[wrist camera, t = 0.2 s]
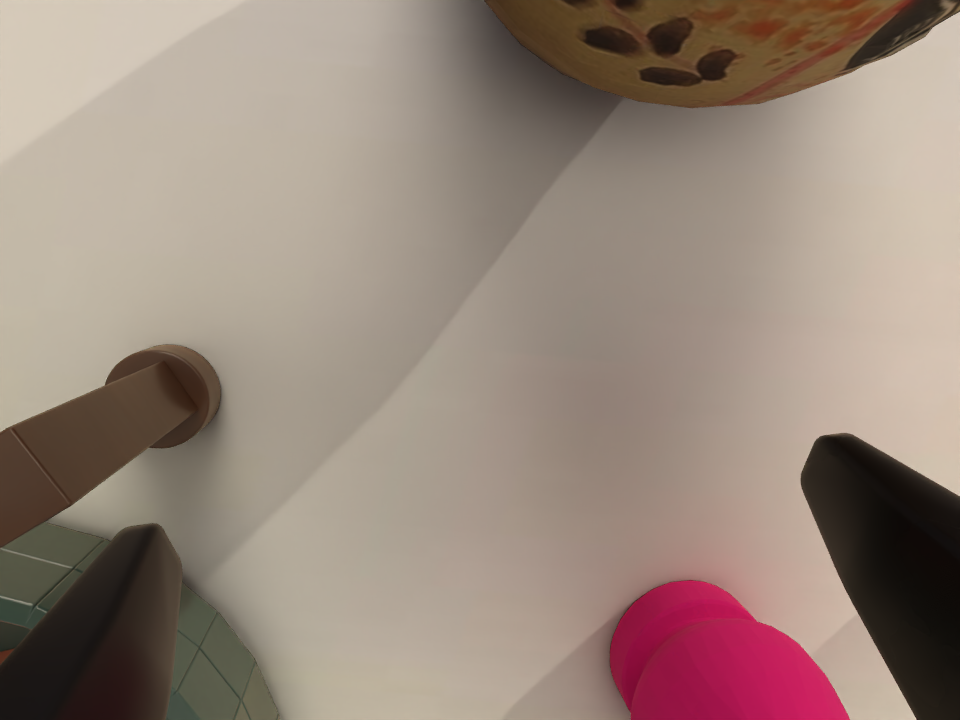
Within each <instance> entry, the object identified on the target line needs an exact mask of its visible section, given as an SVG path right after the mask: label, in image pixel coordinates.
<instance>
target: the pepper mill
mask: <svg viewBox="0 0 960 720" xmlns="http://www.w3.org/2000/svg"><path fill="white" fill-rule="evenodd" d="M610 667H611V672H612V676H613V678H614V681H615V683H616V686H617V688H618V690H619V692H620V694H621V696H622V697H623V699H624V701H625V703H626V705H627V707H628V709H629V711H630V713H631V720H850V719H849V716H848V714H847V712H846V710H845V708H844V707H843V705H842V703H841V701H840V699H839V697H838V696H837V694H836V692H835V690H834V688H833V687H832V685H831V683H830V682H829V680H828V678H827V677H826V675H825V674H824V673H823V671H822V670H821V669H820V668H819V667H818V665H817V664H816V663H815V662H814V661H813V660H812V658H811V657H810V656H809V655H808V654H807V653H806V651H805V650H804V649H803V648H802V647H801V646H800V645H799V644H798V643H797V642H795V641H794V640H793V639H791V638H790V637H789V636H787V635H786V634H784V633H782V632H780V631H779V630H777V629H775V628H774V627H772V626H769V625H766V624H763V623H760V622H757V621H756V620H755V619H754V618H753V617H752V616H751V614H750V613H749V612H748V611H747V610H746V609H745V608H744V607H743V606H742V605H741V604H740V603H739V602H738V601H737V600H736V599H735V598H734V597H733V596H732V595H730V594H729V593H728V592H726V591H724V590H723V589H721V588H719V587H717V586H715V585H712V584H709V583H706V582H700V581H693V580H688V581H678V582H670V583H667V584H664V585H662V586H660V587H657V588H655V589H653V590H651V591H649V592H648V593H646V594H645V595H644V596H642V597H641V598H639V599H638V600H637V601H635V602H634V603H633V605H632V606H631V607H630V608H629V609H628V611H627V612H626V613H625V614H624V616H623V617H622V618H621V620H620V622H619V624H618V626H617V628H616V631H615V633H614V635H613V639H612V642H611V648H610Z"/></svg>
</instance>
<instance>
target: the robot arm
mask: <svg viewBox="0 0 960 720" xmlns="http://www.w3.org/2000/svg"><path fill="white" fill-rule="evenodd" d="M801 486H802V490H803V493H804V495H805V498H806V500H807V502H808V505H809V507H810V509H811V512H812V514H813V516H814V519H815V521H816V523H817V526H818V528H819V530H820V533H821V535H822V538H823V540H824V542H825V545H826V547H827V549H828V552H829V554H830V556H831V559H832V561H833V563H834V566H835V568H836V570H837V573H838V575H839V577H840V579H841V581H842V583H843V586H844V588H845V590H846V592H847V593H848V595H849V597H850V599H851V601H852V603H853V605H854V607H855V608H856V610H857V612H858V614H859V616H860V618H861V619H862V621H863V623H864V625H865V627H866V628H867V630H868V632H869V634H870V636H871V637H872V639H873V641H874V643H875V645H876V646H877V648H878V650H879V652H880V654H881V656H882V657H883V659H884V661H885V663H886V665H887V666H888V668H889V670H890V672H891V674H892V675H893V677H894V679H895V681H896V683H897V684H898V686H899V688H900V690H901V692H902V694H903V695H904V697H905V699H906V701H907V703H908V704H909V706H910V708H911V710H912V712H913V713H914V715H915V717H916V719H917V720H960V496H958V495H956V494H954V493H953V492H951V491H949V490H948V489H946V488H944V487H942V486H941V485H939V484H937V483H935V482H934V481H932V480H930V479H929V478H927V477H925V476H923V475H922V474H920V473H918V472H916V471H915V470H913V469H911V468H909V467H908V466H906V465H904V464H903V463H901V462H899V461H897V460H896V459H894V458H892V457H890V456H889V455H887V454H885V453H884V452H882V451H880V450H878V449H877V448H875V447H873V446H871V445H870V444H868V443H866V442H864V441H863V440H861V439H859V438H858V437H856V436H854V435H851V434H848V433H839V434H831V435H824V436H820V437H819V438H818V439H816V441H815V442H814V444H813V447H812V449H811V451H810V454H809V456H808V458H807V461H806V463H805V465H804V468H803V470H802V473H801ZM181 585H182V565H181V561H180V558H179V556H178V555H177V553H176V551H175V549H174V547H173V546H172V544H171V542H170V540H169V538H168V537H167V535H166V533H165V531H164V529H163V528H162V527H161V526H160V525H158V524H155V523H152V524H144V525H136V526H130V527H126V528H124V529H123V530H122V531H120V532H119V533H118V534H117V535H116V536H115V537H114V538H113V540H112V541H111V542H110V543H109V544H108V545H107V546H106V547H105V548H104V550H103V551H102V552H101V553H100V554H99V555H98V556H97V557H96V558H95V560H94V561H93V562H92V563H91V564H90V565H89V566H88V567H87V569H86V570H85V571H84V572H83V573H82V574H81V575H80V576H79V577H78V579H77V580H76V581H75V582H74V583H73V584H72V585H71V586H70V587H69V589H68V590H67V591H66V592H65V593H64V594H63V595H62V596H61V597H60V599H59V600H58V601H57V602H56V603H55V604H54V605H53V606H52V608H51V609H50V610H49V611H48V612H47V613H46V614H45V615H44V616H43V618H42V619H41V620H40V621H39V622H38V623H37V624H36V625H35V626H34V628H33V629H32V630H31V631H30V632H29V633H28V634H27V635H26V637H25V638H24V639H23V640H22V641H21V642H20V643H19V644H18V645H17V647H16V648H15V649H14V650H13V651H12V652H11V653H10V654H9V655H8V657H7V658H6V659H5V660H4V661H3V662H2V663H1V664H0V720H165V719H166V715H167V710H168V704H169V699H170V693H171V686H172V678H173V668H174V658H175V648H176V637H177V627H178V616H179V606H180V595H181Z"/></svg>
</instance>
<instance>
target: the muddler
mask: <svg viewBox="0 0 960 720" xmlns="http://www.w3.org/2000/svg"><path fill="white" fill-rule="evenodd" d="M220 397H221V389H220V383H219V380H218V377H217V375H216V372H215V371H214V369H213V368H212V366H211V365H210V364H209V362H208V361H207V360H206V359H205V358H204V357H202V356H201V355H200V354H198V353H196V352H195V351H193V350H191V349H188V348H186V347H182V346H178V345H158V346H154V347H151V348H148V349H145V350H143V351H140V352H137V353H134V354H132V355H130V356H128V357H126V358H124V359H123V360H122V361H120V362H119V363H118V364H117V365H116V366H115V367H114V368H113V370H112V371H111V373H110V374H109V376H108V378H107V380H106V383H105V386H103V387H101V388H98V389H96V390H94V391H91V392H89V393H87V394H84V395H82V396H80V397H77V398H75V399H73V400H70V401H68V402H66V403H64V404H61V405H59V406H57V407H54V408H52V409H50V410H47V411H45V412H43V413H40V414H38V415H36V416H33V417H31V418H29V419H27V420H24V421H22V422H20V423H17V424H15V425H13V426H10V427H8V428H7V429H5V430H3V431H2V432H0V548H2V547H4V546H5V545H7V544H9V543H10V542H12V541H14V540H15V539H17V538H19V537H20V536H22V535H23V534H25V533H27V532H28V531H30V530H32V529H33V528H35V527H37V526H38V525H40V524H42V523H43V522H45V521H47V520H48V519H50V518H52V517H53V516H55V515H57V514H58V513H60V512H61V511H63V510H65V509H66V508H68V507H70V506H71V505H73V504H74V503H75V502H77V501H78V500H79V499H81V498H82V497H83V496H85V495H86V494H87V493H89V492H90V491H91V490H93V489H94V488H95V487H97V486H98V485H99V484H101V483H102V482H103V481H105V480H106V479H107V478H109V477H110V476H111V475H113V474H114V473H115V472H117V471H118V470H119V469H121V468H122V467H123V466H125V465H126V464H127V463H129V462H130V461H131V460H133V459H134V458H135V457H137V456H138V455H139V454H141V453H142V452H143V451H145V450H146V449H147V448H170V447H174V446H177V445H180V444H182V443H184V442H186V441H188V440H189V439H191V438H192V437H193V436H195V435H196V434H197V433H198V432H199V431H200V430H201V429H203V428H204V427H205V426H206V425H207V424H208V423H209V422H210V421H211V420H212V418H213V417H214V415H215V414H216V412H217V409H218V407H219V403H220Z"/></svg>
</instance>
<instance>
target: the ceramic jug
mask: <svg viewBox="0 0 960 720" xmlns="http://www.w3.org/2000/svg"><path fill="white" fill-rule="evenodd" d="M484 1H485V2H486V3H487V5H488V6H489V7H490V8H491V9H492V11H493V12H494V13H495V14H496V16H497V17H498V18H499V19H500V21H501V22H502V23H503V24H504V25H505V27H506V28H507V29H508V30H509V31H510V32H511V34H512V35H513V36H514V37H515V38H516V39H517V40H518V42H519V43H520V44H521V45H523V46H524V47H525V48H527V49H528V50H529V51H531V52H532V53H533V54H535V55H536V56H537V57H539V58H540V59H541V60H543V61H544V62H545V63H547V64H548V65H550V66H551V67H553V68H554V69H556V70H558V71H559V72H561V73H562V74H564V75H566V76H569V77H571V78H574V79H576V80H578V81H581V82H583V83H585V84H588V85H590V86H592V87H594V88H597V89H600V90H603V91H607V92H610V93H613V94H617V95H620V96H623V97H626V98H630V99H633V100H636V101H640V102H648V103H655V104H663V105H671V106H679V107H687V108H698V107H714V106H730V105H747V104H760V103H763V102H766V101H769V100H773V99H776V98H779V97H782V96H786V95H789V94H792V93H795V92H798V91H801V90H804V89H807V88H809V87H812V86H815V85H818V84H821V83H823V82H826V81H829V80H832V79H835V78H837V77H840V76H843V75H846V74H849V73H851V72H853V71H855V70H857V69H858V68H860V67H862V66H864V65H866V64H869V63H872V62H875V61H877V60H880V59H883V58H885V57H888V56H891V55H893V54H895V53H897V52H898V51H900V50H902V49H904V48H906V47H907V46H909V45H911V44H913V43H915V42H916V41H918V40H920V39H922V38H924V37H925V36H926V35H927V34H928V33H929V31H930V30H931V29H932V28H933V27H934V26H936V25H937V24H939V23H941V22H942V21H944V20H946V19H948V18H949V17H951V16H953V15H955V14H956V13H958V12H960V0H484Z"/></svg>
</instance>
